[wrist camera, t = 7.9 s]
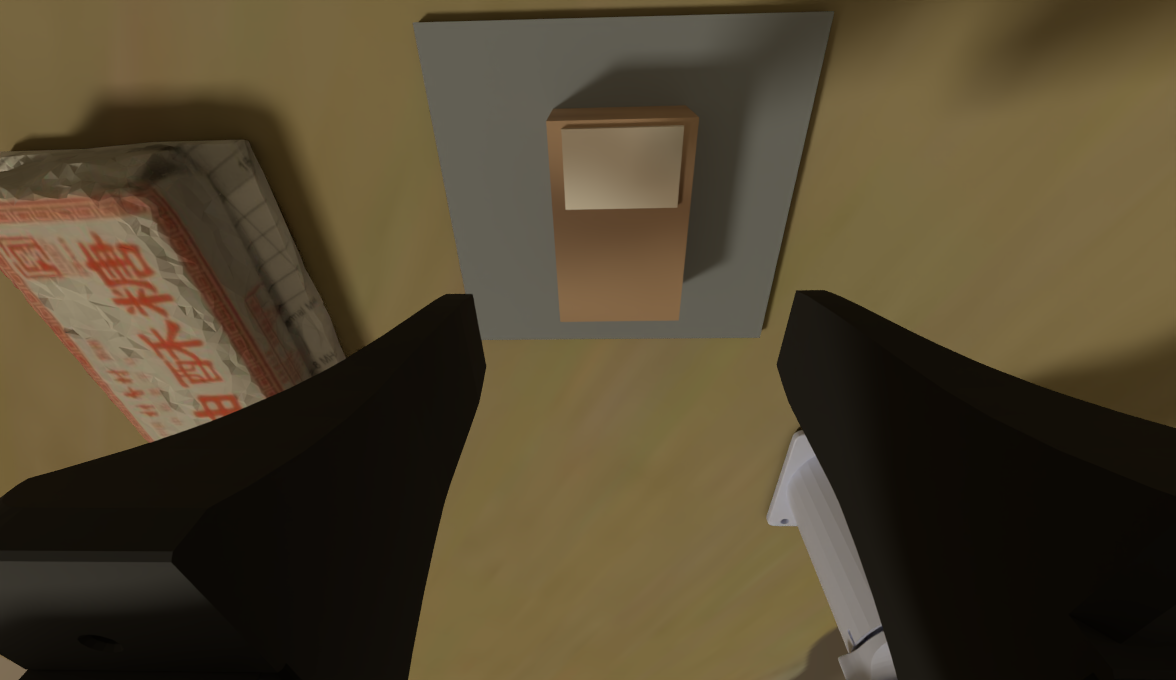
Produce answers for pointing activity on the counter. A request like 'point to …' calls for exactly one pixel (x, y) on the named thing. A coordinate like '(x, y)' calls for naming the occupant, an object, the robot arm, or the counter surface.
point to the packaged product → (165, 276)
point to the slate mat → (621, 79)
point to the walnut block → (621, 209)
